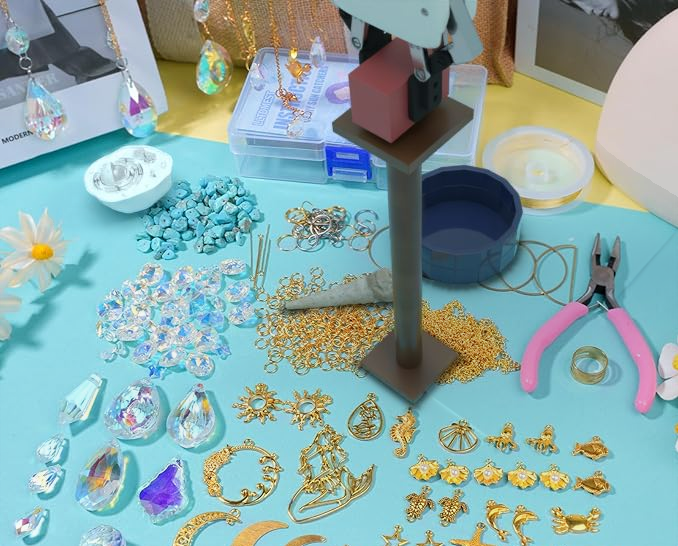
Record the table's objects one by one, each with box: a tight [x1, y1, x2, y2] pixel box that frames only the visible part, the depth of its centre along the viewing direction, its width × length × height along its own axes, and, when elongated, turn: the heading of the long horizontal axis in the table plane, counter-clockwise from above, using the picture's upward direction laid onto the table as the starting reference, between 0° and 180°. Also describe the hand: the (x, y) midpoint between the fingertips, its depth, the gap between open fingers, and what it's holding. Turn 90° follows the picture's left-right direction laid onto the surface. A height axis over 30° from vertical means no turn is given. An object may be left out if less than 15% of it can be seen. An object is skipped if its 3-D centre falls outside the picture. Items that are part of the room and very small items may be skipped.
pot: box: [422, 164, 524, 285], centre depth 102 cm, size 15×15×6 cm
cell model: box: [83, 145, 173, 214], centre depth 111 cm, size 10×12×7 cm
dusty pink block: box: [347, 36, 451, 143], centre depth 63 cm, size 7×4×4 cm, turn 137°
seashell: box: [285, 267, 393, 310], centre depth 99 cm, size 4×16×4 cm, turn 98°
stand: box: [331, 95, 475, 406], centre depth 80 cm, size 8×8×36 cm
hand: (401, 97), depth 64 cm, fingers closed on dusty pink block, 4 cm apart
